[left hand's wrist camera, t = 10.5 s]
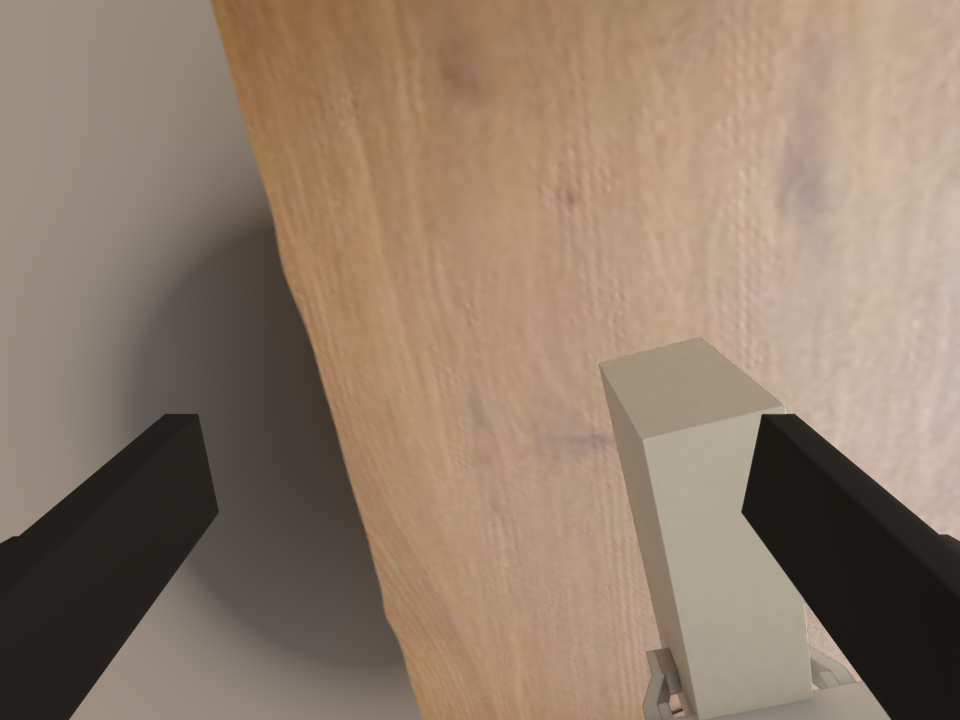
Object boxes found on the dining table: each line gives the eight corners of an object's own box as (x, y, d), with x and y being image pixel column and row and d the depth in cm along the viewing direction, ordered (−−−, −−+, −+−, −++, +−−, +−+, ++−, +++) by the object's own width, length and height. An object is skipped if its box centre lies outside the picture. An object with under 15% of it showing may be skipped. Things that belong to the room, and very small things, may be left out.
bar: (598, 362, 29) (642, 439, 21) (701, 336, 28) (785, 405, 20) (664, 660, 36) (715, 798, 28) (747, 643, 36) (821, 780, 28)
